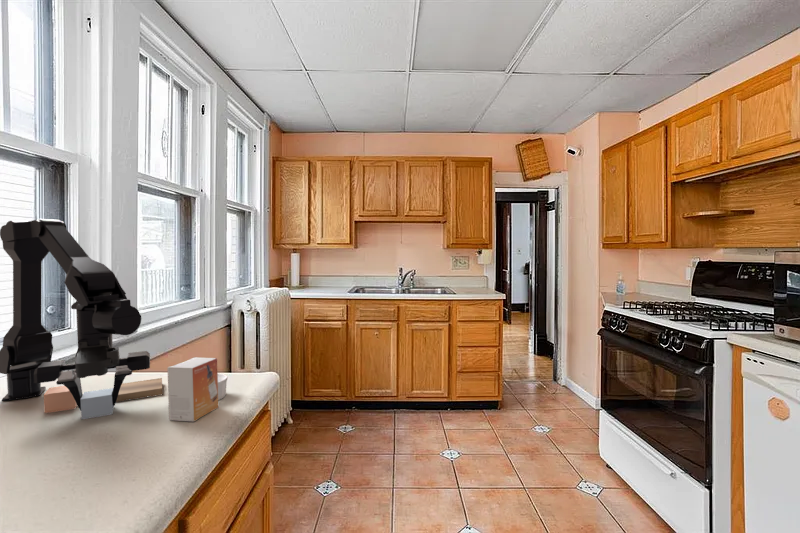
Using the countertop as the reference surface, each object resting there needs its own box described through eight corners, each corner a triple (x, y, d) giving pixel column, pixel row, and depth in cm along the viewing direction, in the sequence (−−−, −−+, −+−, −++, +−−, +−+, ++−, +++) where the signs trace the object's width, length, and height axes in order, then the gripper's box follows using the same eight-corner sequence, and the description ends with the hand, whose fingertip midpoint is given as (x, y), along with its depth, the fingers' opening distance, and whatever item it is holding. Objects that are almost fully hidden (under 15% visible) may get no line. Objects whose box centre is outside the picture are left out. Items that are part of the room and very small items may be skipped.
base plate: (118, 390, 101) (118, 384, 100) (162, 383, 105) (161, 377, 105) (115, 402, 93) (115, 395, 93) (162, 394, 97) (162, 388, 97)
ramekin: (197, 408, 89) (196, 388, 89) (176, 399, 94) (176, 380, 94) (235, 396, 96) (235, 377, 96) (214, 389, 101) (214, 371, 101)
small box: (193, 422, 81) (191, 368, 81) (168, 420, 82) (166, 367, 82) (219, 407, 89) (218, 357, 89) (195, 405, 90) (194, 356, 90)
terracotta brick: (50, 406, 91) (49, 387, 91) (79, 401, 94) (78, 383, 93) (44, 413, 87) (43, 394, 87) (75, 409, 89) (74, 390, 89)
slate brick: (85, 411, 88) (84, 392, 87) (114, 406, 90) (113, 387, 90) (81, 419, 83) (80, 399, 83) (112, 414, 86) (111, 394, 86)
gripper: (24, 344, 74) (28, 432, 75) (148, 333, 84) (150, 411, 84) (39, 334, 84) (42, 411, 85) (148, 324, 93) (151, 394, 94)
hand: (98, 407), depth 87 cm, fingers closed on slate brick, 5 cm apart
